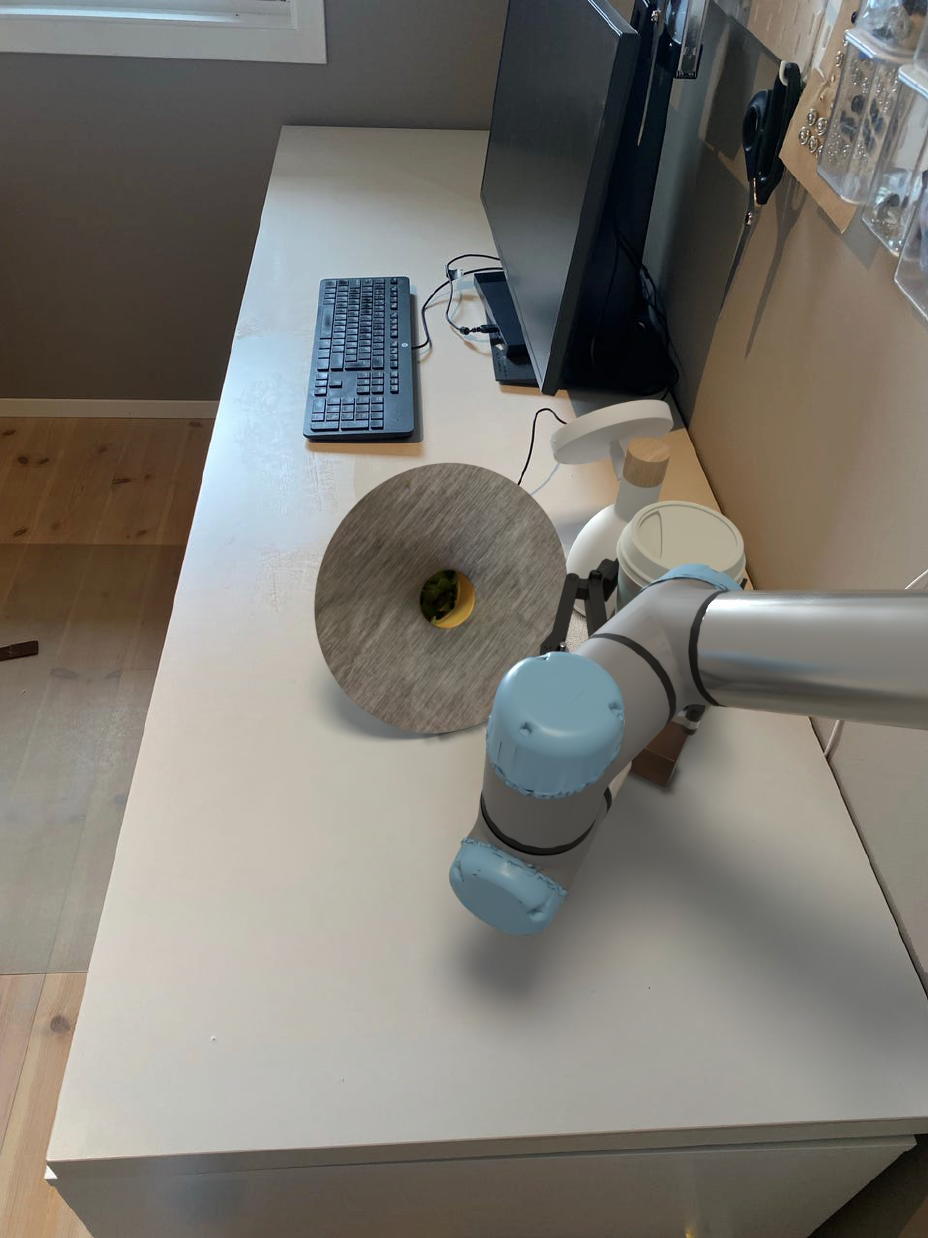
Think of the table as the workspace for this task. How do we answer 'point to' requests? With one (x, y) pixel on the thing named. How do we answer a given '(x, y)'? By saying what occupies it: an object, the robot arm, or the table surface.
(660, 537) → the coffee cup
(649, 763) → the wooden trinket box
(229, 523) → the table surface
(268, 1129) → the table surface
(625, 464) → the light fixture
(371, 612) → the grey round piece
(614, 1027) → the table surface
